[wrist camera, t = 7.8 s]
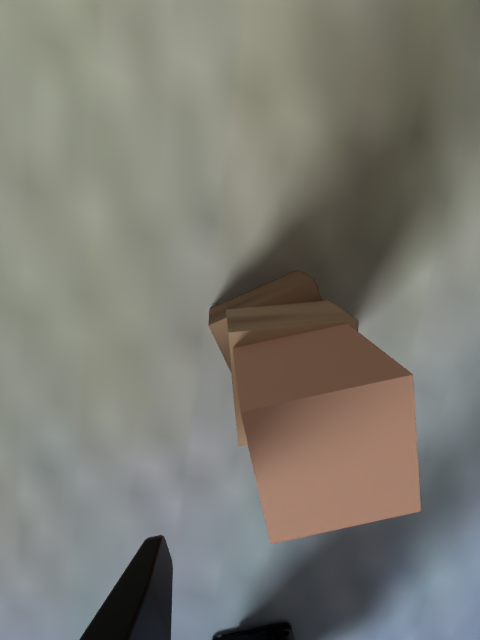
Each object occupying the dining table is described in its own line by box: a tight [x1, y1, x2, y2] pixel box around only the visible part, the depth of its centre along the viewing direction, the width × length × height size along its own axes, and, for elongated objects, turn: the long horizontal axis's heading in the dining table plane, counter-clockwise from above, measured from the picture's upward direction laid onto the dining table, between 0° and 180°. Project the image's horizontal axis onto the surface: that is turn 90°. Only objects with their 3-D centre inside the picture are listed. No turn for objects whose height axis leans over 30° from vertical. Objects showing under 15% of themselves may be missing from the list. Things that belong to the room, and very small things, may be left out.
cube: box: [232, 324, 421, 544], centre depth 11 cm, size 4×4×4 cm
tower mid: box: [226, 300, 358, 446], centre depth 15 cm, size 5×5×4 cm
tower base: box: [209, 270, 322, 371], centre depth 19 cm, size 6×6×4 cm
